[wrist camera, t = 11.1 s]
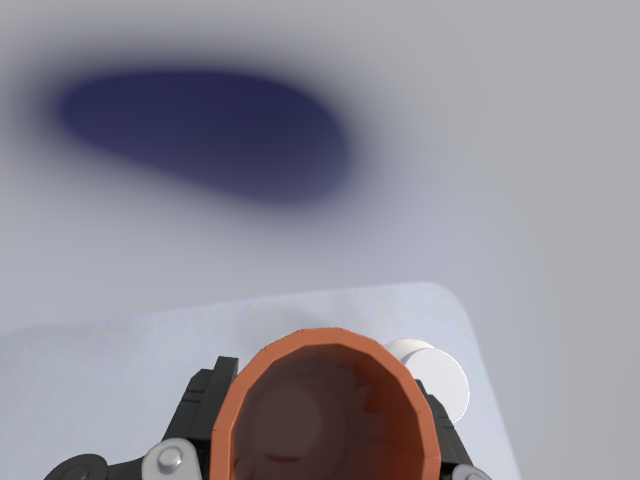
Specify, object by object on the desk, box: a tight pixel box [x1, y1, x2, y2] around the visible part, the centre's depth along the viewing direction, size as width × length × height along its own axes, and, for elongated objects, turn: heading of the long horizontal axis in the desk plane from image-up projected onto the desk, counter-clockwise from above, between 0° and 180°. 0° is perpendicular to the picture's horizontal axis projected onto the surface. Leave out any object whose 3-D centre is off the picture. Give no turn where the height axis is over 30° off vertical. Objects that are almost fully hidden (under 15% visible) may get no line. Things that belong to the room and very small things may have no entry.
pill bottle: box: [383, 339, 469, 424], centre depth 30 cm, size 8×8×15 cm
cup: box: [209, 328, 441, 480], centre depth 13 cm, size 6×6×10 cm
